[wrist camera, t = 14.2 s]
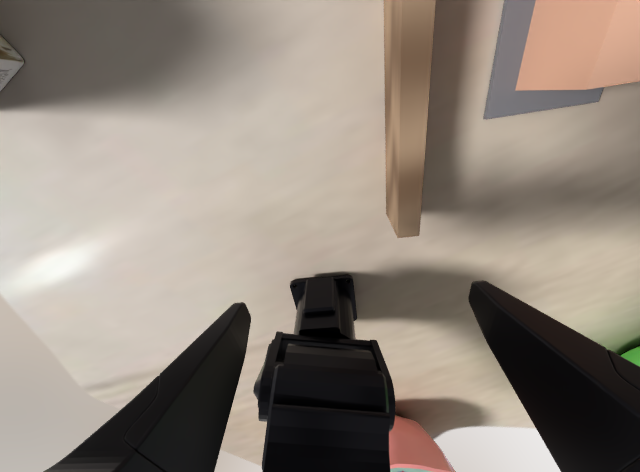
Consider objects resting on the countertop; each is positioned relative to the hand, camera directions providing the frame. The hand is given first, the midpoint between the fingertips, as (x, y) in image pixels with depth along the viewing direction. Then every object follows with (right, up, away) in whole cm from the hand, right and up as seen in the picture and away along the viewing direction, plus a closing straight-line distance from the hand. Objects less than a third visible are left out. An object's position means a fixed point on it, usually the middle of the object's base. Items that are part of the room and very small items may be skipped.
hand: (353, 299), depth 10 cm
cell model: (+9, -29, +32) cm, 44 cm away
